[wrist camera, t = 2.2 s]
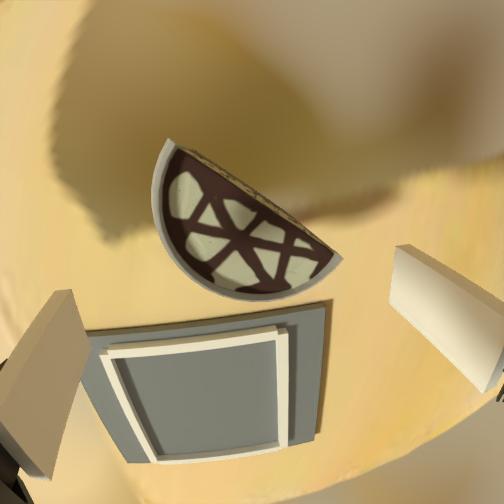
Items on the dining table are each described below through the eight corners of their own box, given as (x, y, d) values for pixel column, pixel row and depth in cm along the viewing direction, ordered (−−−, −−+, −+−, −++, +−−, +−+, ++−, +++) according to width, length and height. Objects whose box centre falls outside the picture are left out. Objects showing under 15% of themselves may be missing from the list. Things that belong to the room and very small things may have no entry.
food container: (136, 203, 25) (103, 241, 15) (176, 138, 23) (164, 137, 14) (257, 276, 29) (287, 341, 19) (298, 220, 28) (349, 263, 18)
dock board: (321, 302, 31) (329, 312, 29) (311, 435, 39) (316, 445, 37) (65, 333, 27) (58, 344, 25) (128, 457, 35) (127, 468, 33)
